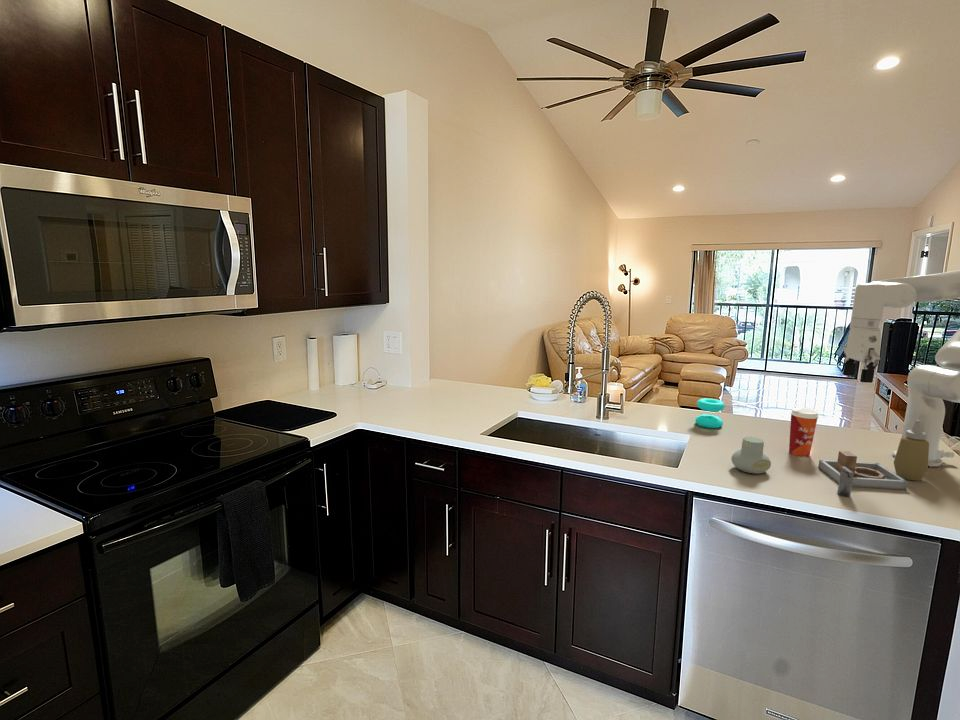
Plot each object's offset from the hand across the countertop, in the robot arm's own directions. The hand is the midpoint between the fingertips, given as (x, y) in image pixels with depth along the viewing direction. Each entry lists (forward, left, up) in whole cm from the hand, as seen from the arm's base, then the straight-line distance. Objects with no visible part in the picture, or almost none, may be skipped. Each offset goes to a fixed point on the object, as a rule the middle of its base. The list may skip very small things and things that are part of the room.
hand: (857, 378), depth 162 cm
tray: (+1, +11, -28) cm, 30 cm away
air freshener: (+32, +10, -29) cm, 44 cm away
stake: (+12, +24, -28) cm, 39 cm away
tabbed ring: (+1, +11, -28) cm, 30 cm away
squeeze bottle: (-14, +8, -28) cm, 33 cm away
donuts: (+32, -35, -29) cm, 55 cm away
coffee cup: (+10, -8, -28) cm, 31 cm away
